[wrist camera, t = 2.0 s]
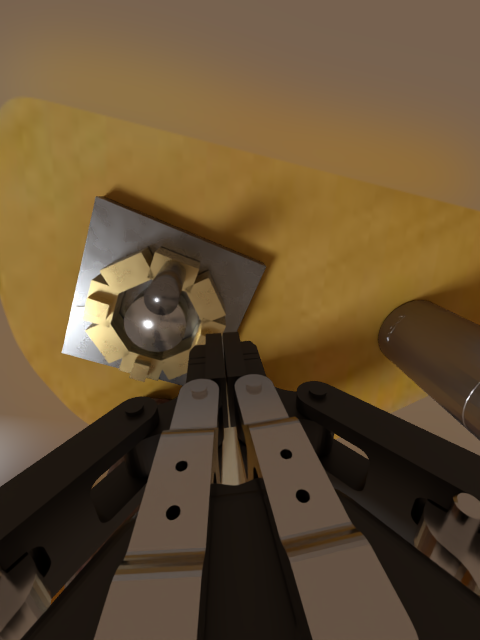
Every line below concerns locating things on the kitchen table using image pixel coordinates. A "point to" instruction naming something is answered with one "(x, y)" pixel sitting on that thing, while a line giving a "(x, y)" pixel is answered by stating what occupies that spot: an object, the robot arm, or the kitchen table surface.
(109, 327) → the tan block ring
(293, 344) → the kitchen table surface
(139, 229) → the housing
